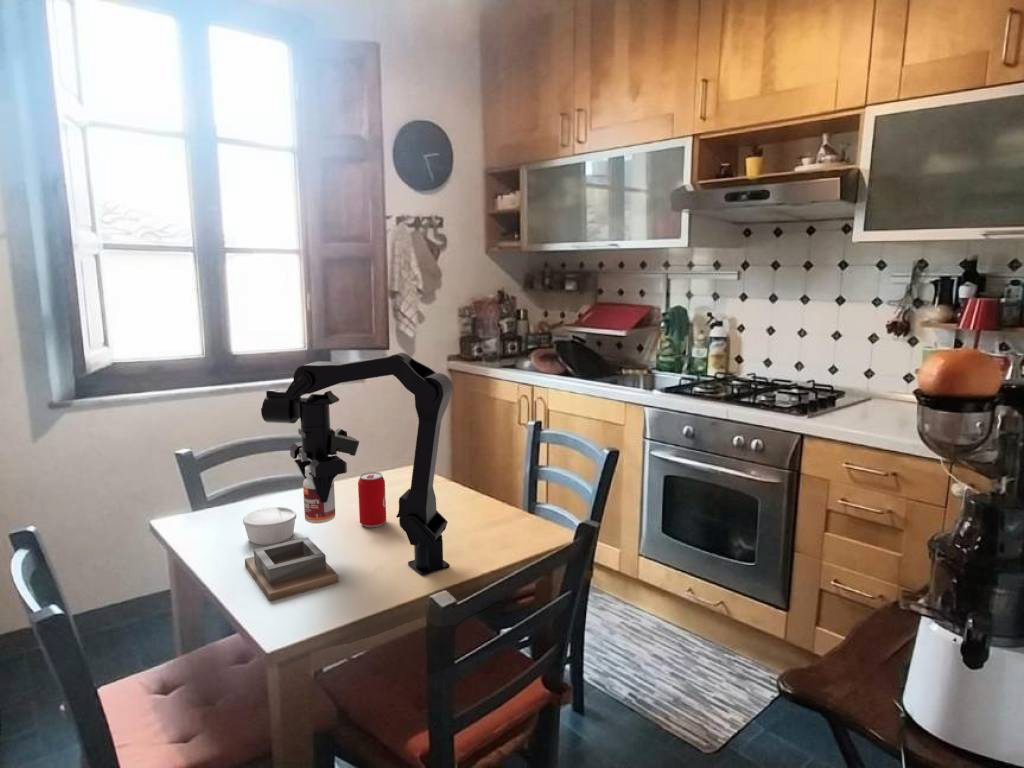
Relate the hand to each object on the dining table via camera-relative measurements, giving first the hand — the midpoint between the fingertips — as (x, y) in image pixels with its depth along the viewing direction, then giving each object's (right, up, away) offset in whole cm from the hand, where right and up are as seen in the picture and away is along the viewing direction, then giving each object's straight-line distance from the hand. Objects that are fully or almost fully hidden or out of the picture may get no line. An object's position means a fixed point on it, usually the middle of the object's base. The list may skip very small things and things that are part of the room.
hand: (319, 497), depth 134 cm
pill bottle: (0, -5, +1) cm, 5 cm away
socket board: (-4, -14, -5) cm, 16 cm away
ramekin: (-15, -11, +13) cm, 23 cm away
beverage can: (+7, -10, +21) cm, 24 cm away
